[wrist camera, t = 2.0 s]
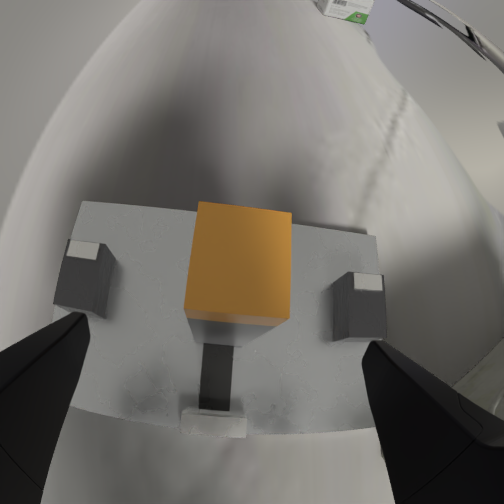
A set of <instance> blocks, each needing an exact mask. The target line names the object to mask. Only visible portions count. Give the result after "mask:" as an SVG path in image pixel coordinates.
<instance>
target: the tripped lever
mask: <svg viewBox="0 0 504 504" xmlns="http://www.w3.org/2000/svg"><path fill="white" fill-rule="evenodd" d="M291 231H292V213H288V212H281V211H274V210H267V209H259V208H252V207H244V206H236V205H228V204H220V203H211V202H202V201H199V204H198V210H197V216H196V222H195V229H194V235H193V242H192V248H191V255H190V262H189V269H188V277H187V284H186V292H185V300H184V311H185V314H186V317H187V320H188V323H189V326H190V329H191V332H192V335H193V338H194V340H195V342H200V343H209V344H219V345H230V346H242V347H243V346H245V345H246V344H248V343H250V342H252V341H253V340H255V339H257V338H258V337H260V336H262V335H264V334H265V333H267V332H269V331H270V330H272V329H274V328H275V327H277V326H278V325H280V324H282V323H283V322H285V321H287V320H288V319H290V291H291Z"/></svg>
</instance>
